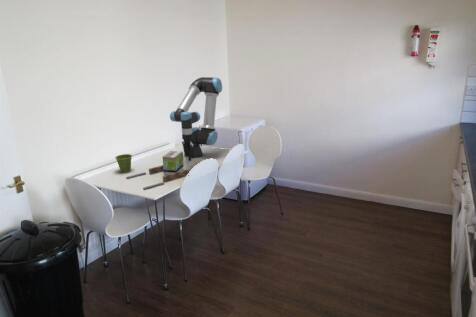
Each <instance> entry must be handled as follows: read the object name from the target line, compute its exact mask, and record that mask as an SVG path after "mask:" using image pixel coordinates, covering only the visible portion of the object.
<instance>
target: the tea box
mask: <svg viewBox="0 0 476 317" xmlns="http://www.w3.org/2000/svg"><path fill="white" fill-rule="evenodd" d="M162 165H163V176H165V175H168V174H172V173H176V172H179V171H183V170H185V168H184V167H185V166H184V151H179V150H178V151H177V150H176V151H175V150H170V151H169V152H167V153H166V154H164V155H163V156H162Z"/></svg>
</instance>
